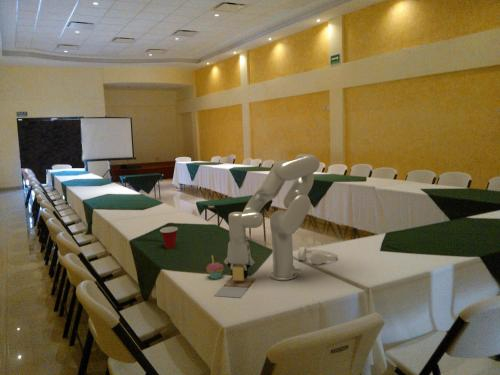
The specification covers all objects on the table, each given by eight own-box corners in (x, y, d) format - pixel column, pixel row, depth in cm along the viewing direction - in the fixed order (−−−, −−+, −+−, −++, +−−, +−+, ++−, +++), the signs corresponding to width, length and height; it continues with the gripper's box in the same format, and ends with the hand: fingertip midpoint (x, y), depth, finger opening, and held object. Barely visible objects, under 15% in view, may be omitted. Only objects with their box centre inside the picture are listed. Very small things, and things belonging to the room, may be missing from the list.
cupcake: (219, 281, 197) (218, 256, 195) (203, 279, 200) (201, 255, 198) (227, 275, 205) (225, 251, 203) (211, 273, 208) (210, 250, 206)
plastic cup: (158, 249, 256) (156, 230, 254) (166, 244, 266) (165, 226, 264) (174, 250, 252) (172, 231, 251) (182, 245, 263) (180, 226, 261)
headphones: (318, 252, 209) (344, 250, 222) (292, 245, 223) (317, 244, 236) (317, 267, 209) (342, 263, 222) (291, 259, 223) (316, 256, 236)
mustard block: (246, 276, 195) (246, 264, 195) (243, 280, 191) (242, 268, 190) (236, 276, 197) (235, 264, 196) (233, 280, 192) (232, 267, 191)
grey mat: (248, 288, 186) (248, 287, 186) (240, 298, 176) (240, 297, 176) (222, 286, 190) (222, 286, 190) (213, 296, 179) (213, 295, 179)
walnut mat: (255, 279, 197) (255, 278, 197) (248, 287, 187) (248, 287, 187) (231, 277, 201) (231, 276, 201) (223, 285, 191) (223, 285, 191)
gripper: (258, 237, 192) (259, 275, 195) (223, 236, 197) (225, 273, 200) (253, 241, 185) (255, 281, 188) (217, 240, 190) (219, 279, 193)
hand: (239, 277), depth 194 cm, fingers closed on mustard block, 4 cm apart
